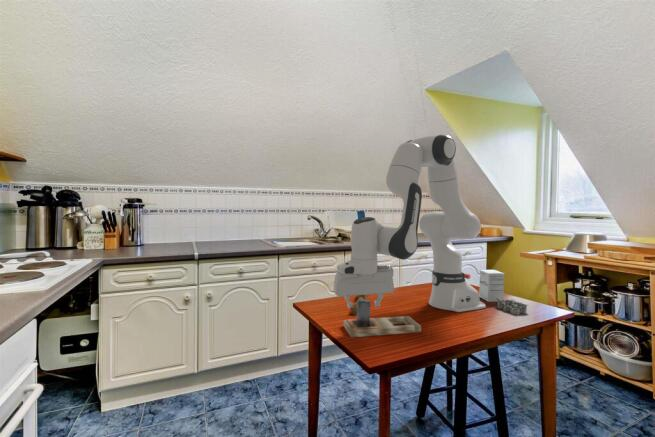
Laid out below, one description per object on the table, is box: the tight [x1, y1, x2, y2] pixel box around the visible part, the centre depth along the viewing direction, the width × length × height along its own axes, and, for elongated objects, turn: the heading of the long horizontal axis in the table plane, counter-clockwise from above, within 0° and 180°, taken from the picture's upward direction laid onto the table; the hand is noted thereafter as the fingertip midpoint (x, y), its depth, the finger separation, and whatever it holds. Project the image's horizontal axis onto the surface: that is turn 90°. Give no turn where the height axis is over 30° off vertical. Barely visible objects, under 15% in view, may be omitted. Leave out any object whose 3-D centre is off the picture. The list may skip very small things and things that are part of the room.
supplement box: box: [478, 269, 505, 303], centre depth 150 cm, size 7×7×13 cm
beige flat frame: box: [343, 315, 422, 338], centre depth 115 cm, size 24×10×2 cm, turn 101°
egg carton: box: [496, 298, 529, 316], centre depth 136 cm, size 11×8×4 cm
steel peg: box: [356, 298, 371, 328], centre depth 114 cm, size 4×4×10 cm
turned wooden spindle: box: [350, 295, 368, 316], centre depth 144 cm, size 3×3×30 cm
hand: (363, 307), depth 114 cm, fingers open, 8 cm apart
